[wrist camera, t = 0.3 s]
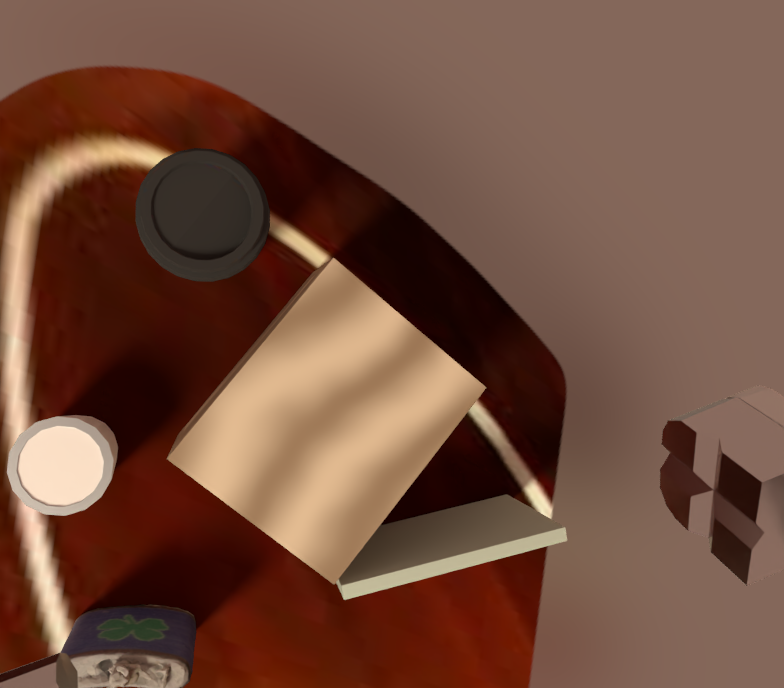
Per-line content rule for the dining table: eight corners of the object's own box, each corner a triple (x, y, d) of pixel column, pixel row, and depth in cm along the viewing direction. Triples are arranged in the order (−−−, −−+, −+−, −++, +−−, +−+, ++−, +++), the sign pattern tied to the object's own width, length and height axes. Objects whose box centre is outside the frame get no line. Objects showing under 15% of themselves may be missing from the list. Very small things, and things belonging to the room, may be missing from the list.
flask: (73, 640, 58) (40, 706, 48) (77, 602, 58) (45, 660, 48) (195, 641, 60) (190, 705, 50) (199, 605, 60) (194, 661, 50)
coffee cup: (281, 234, 61) (299, 202, 47) (217, 313, 60) (215, 306, 46) (199, 167, 60) (190, 113, 45) (131, 247, 59) (100, 218, 44)
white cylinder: (138, 421, 59) (126, 432, 52) (110, 505, 59) (95, 527, 52) (49, 396, 58) (25, 404, 51) (19, 481, 57) (-8, 501, 50)
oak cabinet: (438, 378, 64) (486, 387, 53) (313, 537, 62) (334, 584, 51) (313, 272, 62) (333, 257, 50) (178, 434, 60) (166, 458, 48)
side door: (510, 518, 65) (570, 556, 54) (325, 565, 62) (347, 617, 51) (506, 494, 65) (565, 527, 54) (320, 540, 62) (341, 585, 51)
